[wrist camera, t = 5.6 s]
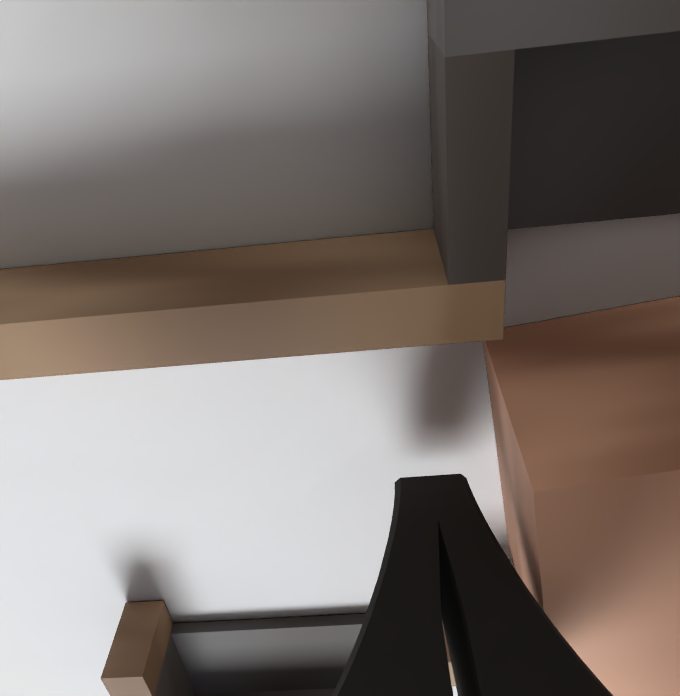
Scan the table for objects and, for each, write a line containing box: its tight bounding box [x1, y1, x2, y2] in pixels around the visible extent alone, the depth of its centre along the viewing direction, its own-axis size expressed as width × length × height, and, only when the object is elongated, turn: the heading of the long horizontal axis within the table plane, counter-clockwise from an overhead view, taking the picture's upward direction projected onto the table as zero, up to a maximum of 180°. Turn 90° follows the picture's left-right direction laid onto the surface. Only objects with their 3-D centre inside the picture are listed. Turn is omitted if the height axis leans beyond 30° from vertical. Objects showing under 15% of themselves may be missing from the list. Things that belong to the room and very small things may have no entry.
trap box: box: [0, 0, 680, 696], centre depth 13 cm, size 17×18×2 cm
